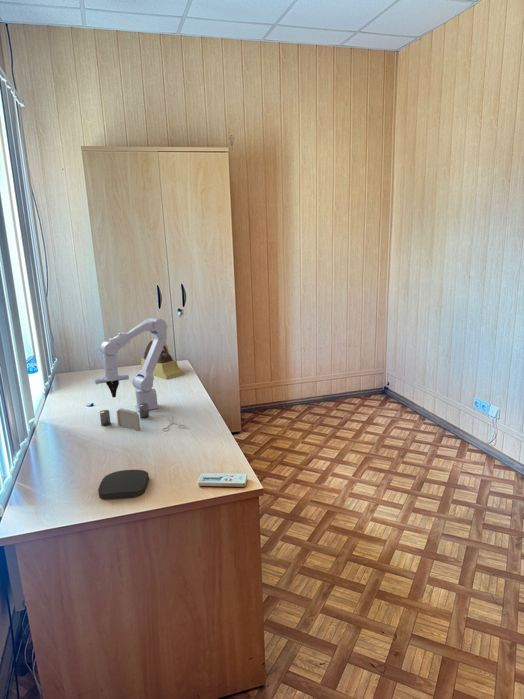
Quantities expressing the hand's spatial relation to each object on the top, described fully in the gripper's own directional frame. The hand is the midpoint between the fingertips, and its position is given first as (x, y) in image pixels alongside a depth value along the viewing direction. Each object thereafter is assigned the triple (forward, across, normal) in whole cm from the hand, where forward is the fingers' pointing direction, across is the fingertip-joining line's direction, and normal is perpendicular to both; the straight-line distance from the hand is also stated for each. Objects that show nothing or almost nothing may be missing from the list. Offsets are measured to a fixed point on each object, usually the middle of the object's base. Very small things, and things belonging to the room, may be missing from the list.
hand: (114, 396), depth 214 cm
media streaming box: (+10, +7, +68) cm, 69 cm away
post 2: (+9, -12, +8) cm, 17 cm away
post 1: (+9, +6, +8) cm, 14 cm away
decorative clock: (+10, -35, -61) cm, 72 cm away
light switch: (+10, -3, +17) cm, 20 cm away
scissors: (+10, -21, +21) cm, 31 cm away
